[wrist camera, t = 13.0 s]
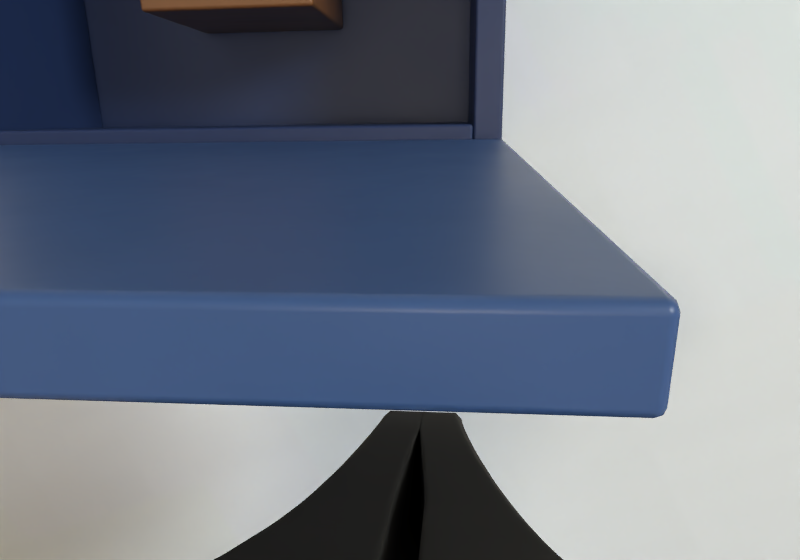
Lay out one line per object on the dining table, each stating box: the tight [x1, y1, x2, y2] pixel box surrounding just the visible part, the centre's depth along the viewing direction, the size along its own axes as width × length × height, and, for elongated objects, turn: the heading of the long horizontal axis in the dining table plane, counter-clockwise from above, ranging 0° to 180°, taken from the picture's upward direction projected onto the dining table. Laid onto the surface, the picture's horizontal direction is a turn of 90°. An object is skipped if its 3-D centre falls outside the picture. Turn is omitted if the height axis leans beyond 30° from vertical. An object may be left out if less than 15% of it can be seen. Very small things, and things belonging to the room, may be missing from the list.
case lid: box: [0, 139, 680, 418], centre depth 8 cm, size 10×12×1 cm
